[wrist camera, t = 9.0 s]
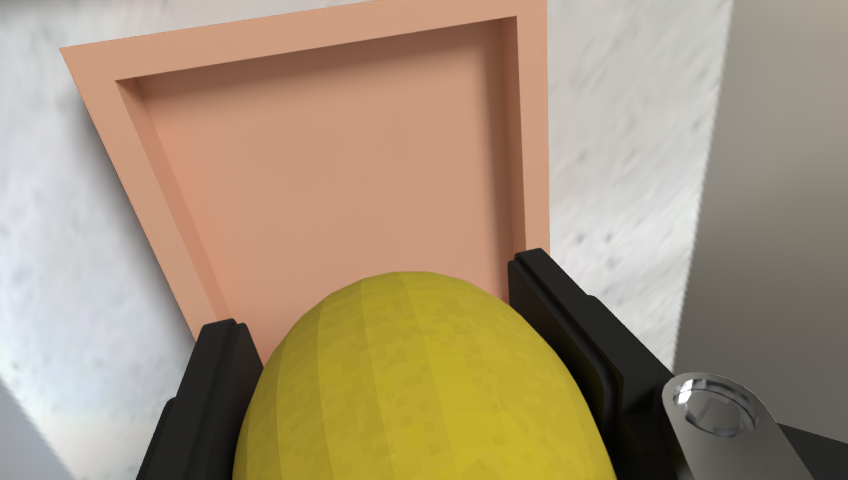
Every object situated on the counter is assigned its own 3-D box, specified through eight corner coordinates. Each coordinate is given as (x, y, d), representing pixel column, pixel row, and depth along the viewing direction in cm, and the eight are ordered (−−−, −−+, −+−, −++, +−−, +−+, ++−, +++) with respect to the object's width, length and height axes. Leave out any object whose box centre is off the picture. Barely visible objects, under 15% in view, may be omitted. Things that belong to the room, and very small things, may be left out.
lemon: (529, 330, 12) (829, 777, 5) (351, 433, 12) (396, 994, 5) (430, 157, 9) (774, 584, 2) (208, 294, 10) (-92, 1042, 3)
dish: (528, 303, 22) (550, 334, 20) (239, 373, 21) (230, 415, 18) (515, -19, 16) (546, -26, 14) (98, 44, 14) (58, 48, 12)
